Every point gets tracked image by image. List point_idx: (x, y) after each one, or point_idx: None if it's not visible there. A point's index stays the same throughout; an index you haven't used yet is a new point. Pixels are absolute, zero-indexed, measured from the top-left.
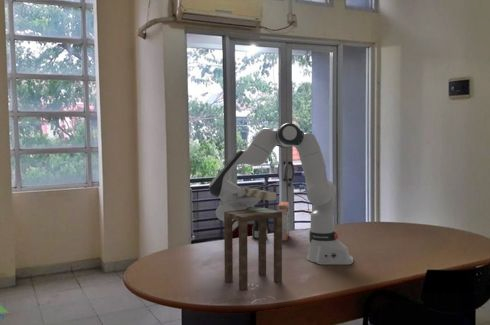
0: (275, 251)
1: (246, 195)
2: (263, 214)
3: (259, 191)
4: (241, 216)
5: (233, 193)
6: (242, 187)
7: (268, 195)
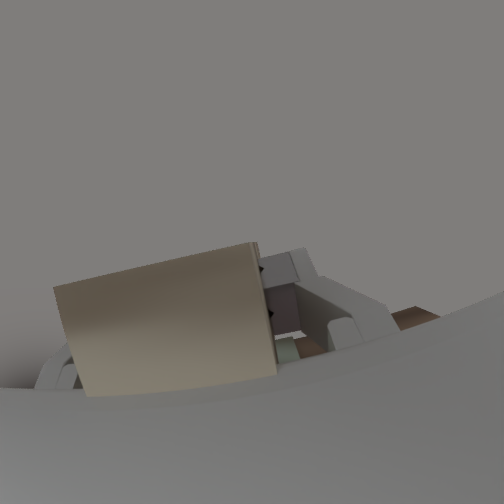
0: None
1: (274, 338)
2: (305, 337)
3: (256, 242)
4: (416, 309)
5: (474, 310)
6: (191, 255)
7: (259, 253)
